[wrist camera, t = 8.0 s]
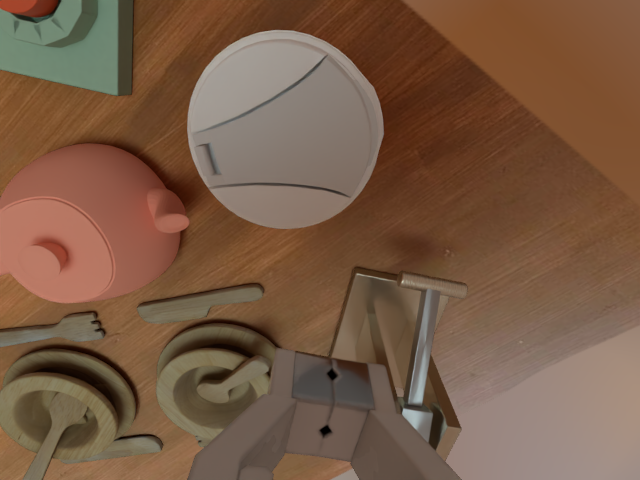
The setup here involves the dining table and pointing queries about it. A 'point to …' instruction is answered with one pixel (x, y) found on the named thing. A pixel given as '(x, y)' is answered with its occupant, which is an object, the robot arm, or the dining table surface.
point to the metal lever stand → (393, 344)
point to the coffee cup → (284, 129)
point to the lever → (423, 344)
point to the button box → (73, 45)
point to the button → (29, 7)
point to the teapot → (88, 224)
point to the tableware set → (115, 394)
